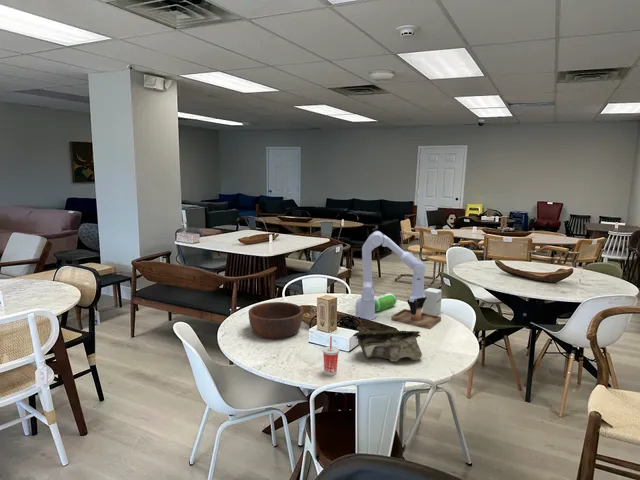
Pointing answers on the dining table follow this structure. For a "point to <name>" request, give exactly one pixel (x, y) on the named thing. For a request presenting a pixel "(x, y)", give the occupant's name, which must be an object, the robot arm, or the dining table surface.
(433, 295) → the supplement box
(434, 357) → the dining table surface
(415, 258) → the robot arm
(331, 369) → the beverage cup
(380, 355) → the mossy rock
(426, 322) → the walnut tray
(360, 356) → the dining table surface
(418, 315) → the terracotta cup
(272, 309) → the wooden bowl
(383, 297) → the speaker
